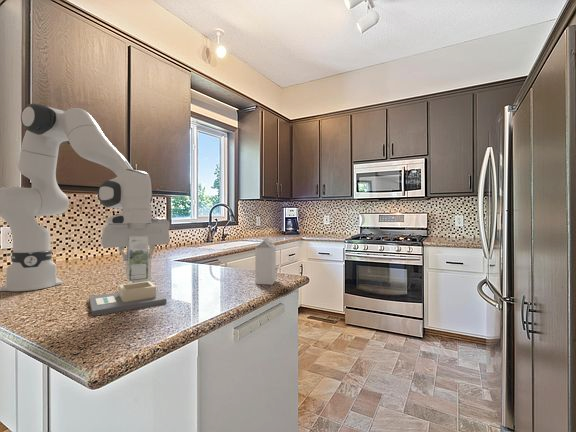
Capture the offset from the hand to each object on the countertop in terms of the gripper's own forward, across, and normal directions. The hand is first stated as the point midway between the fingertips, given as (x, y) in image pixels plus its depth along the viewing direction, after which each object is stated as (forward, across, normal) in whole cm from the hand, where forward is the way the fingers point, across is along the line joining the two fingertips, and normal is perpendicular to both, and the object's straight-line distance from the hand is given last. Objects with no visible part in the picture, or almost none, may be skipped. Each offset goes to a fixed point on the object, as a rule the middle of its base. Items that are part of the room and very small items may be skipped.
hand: (137, 259), depth 98 cm
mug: (+14, -3, -17) cm, 22 cm away
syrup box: (+7, 0, 0) cm, 7 cm away
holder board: (+14, +3, 0) cm, 14 cm away
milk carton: (+14, -48, +4) cm, 50 cm away
